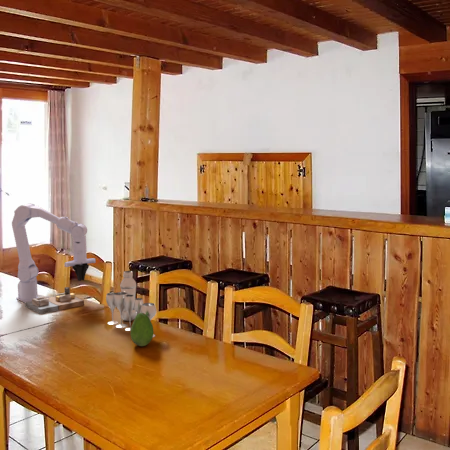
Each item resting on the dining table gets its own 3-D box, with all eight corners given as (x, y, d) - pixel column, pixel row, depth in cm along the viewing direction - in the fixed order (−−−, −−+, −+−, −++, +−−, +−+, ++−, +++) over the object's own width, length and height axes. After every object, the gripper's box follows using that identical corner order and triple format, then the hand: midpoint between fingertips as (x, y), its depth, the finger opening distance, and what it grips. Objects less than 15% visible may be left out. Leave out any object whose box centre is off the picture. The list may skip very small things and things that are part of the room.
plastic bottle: (139, 317, 225) (138, 270, 223) (134, 323, 219) (133, 273, 216) (123, 317, 226) (122, 269, 223) (119, 322, 219) (117, 273, 217)
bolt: (72, 296, 250) (71, 286, 249) (74, 297, 248) (74, 287, 248) (55, 300, 245) (55, 289, 244) (58, 301, 243) (57, 290, 242)
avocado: (143, 351, 188) (142, 317, 186) (126, 346, 192) (125, 313, 191) (158, 344, 195) (157, 311, 193) (141, 340, 199) (140, 308, 197)
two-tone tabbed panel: (67, 298, 256) (67, 289, 255) (84, 304, 245) (83, 295, 244) (25, 306, 242) (24, 297, 241) (40, 314, 231) (39, 303, 230)
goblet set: (103, 323, 219) (102, 290, 217) (115, 320, 223) (114, 288, 221) (147, 339, 199) (146, 304, 198) (159, 336, 204) (159, 301, 202)
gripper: (69, 254, 241) (70, 284, 243) (98, 250, 251) (99, 279, 253) (61, 252, 246) (63, 281, 248) (90, 248, 256) (91, 276, 258)
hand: (81, 280), depth 251 cm, fingers closed
